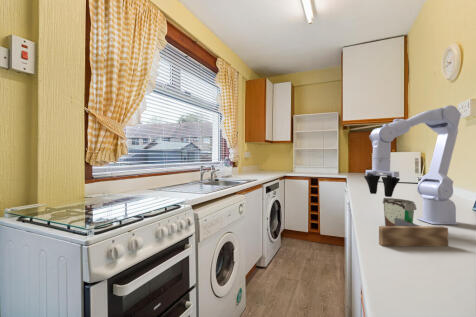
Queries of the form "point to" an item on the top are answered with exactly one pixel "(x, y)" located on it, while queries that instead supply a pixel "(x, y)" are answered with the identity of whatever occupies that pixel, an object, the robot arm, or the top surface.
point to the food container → (398, 210)
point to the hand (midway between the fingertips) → (380, 195)
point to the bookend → (403, 223)
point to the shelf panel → (413, 236)
